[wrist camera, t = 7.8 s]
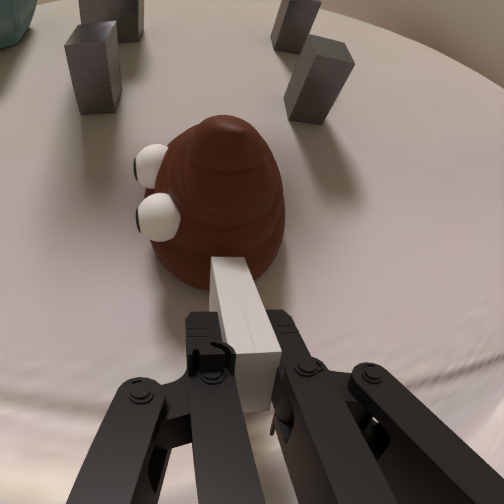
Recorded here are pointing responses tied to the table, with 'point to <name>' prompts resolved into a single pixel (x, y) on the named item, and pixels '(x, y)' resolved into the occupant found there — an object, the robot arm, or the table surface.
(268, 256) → the poop emoji
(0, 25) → the flower pot
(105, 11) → the sight ring stand
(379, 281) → the table surface
